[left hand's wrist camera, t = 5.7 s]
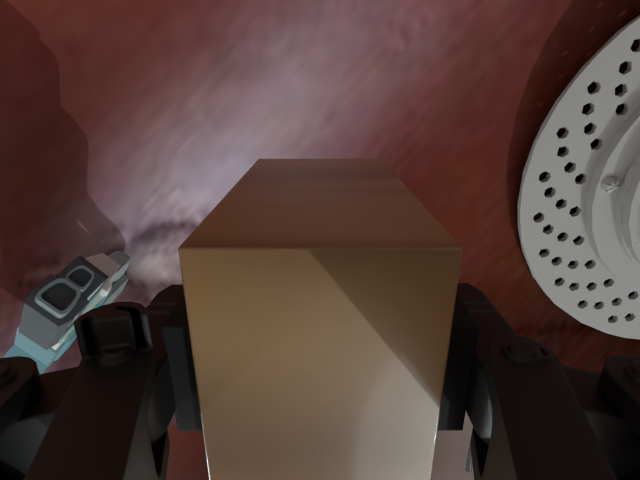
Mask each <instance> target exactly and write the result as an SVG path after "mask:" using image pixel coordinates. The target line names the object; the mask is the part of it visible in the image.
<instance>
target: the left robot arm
mask: <svg viewBox="0 0 640 480" xmlns="http://www.w3.org/2000/svg"><path fill="white" fill-rule="evenodd" d="M73 324H74V328H75V332H76V336H77V340H78V344H79V348H80V352H81V356H82V360H81V362H80V364H79V366H78V367H74V368H70V369H65V370H60V371H55V372H50V373H45V374H40V373H39V370H38V367H37V363H36V362H35V361H34V360H33V359H31V358H30V357H23V356H15V357H4V358H0V480H166V473H167V464H168V456H169V448H170V443H169V436H168V431H167V427H168V425H169V423H170V421H171V419H172V416H173V414H174V412H175V415H176V422H177V428H178V430H203V429H202V422H201V414H200V407H199V399H198V392H197V385H196V377H195V370H194V362H193V355H192V348H191V340H190V333H189V325H188V318H187V310H186V303H185V296H184V288H183V285H171V286H169V287H167V288H166V289H164V290H162V291H161V292H159V293H158V294H157V295H156V296H155V298H154V299H153V300H152V301H151V303H150V305H148V306H147V308H145V307H144V306H142V305H141V304H139V303H134V302H116V303H111V304H106V305H102V306H99V307H97V308H94V309H91V310H89V311H88V312H86V313H84V314H82V315H81V316H79V317H78V318H77V319H76V321H75V322H74V323H73ZM465 411H466V412H467V414H468V416H469V418H470V420H471V423H472V425H473V431H472V436H471V442H470V448H469V453H468V459H467V465H466V471H468V472H471V470H472V464H473V472H474V480H640V356H633V355H624V354H620V355H613V356H610V357H608V358H607V359H606V360H605V361H604V365H603V368H602V371H601V373H599V372H594V371H589V370H584V369H579V368H574V367H569V366H565V365H561V364H560V361H559V359H558V358H557V356H556V355H555V354H554V353H553V352H552V350H550V349H549V348H547V347H546V346H544V345H543V344H541V343H539V342H537V341H535V340H532V339H530V338H526V337H522V336H518V335H517V334H516V333H515V331H514V330H513V329H512V328H511V327H510V325H509V324H508V323H507V322H506V320H505V319H504V318H503V317H502V315H501V314H500V313H499V312H497V309H496V308H495V307H494V305H493V304H491V302H490V301H489V299H488V298H487V297H486V296H485V294H484V293H483V292H482V291H480V290H479V289H477V288H475V287H474V286H472V285H470V284H469V283H458V284H457V292H456V299H455V306H454V314H453V321H452V329H451V336H450V343H449V351H448V358H447V365H446V373H445V380H444V388H443V395H442V402H441V410H440V417H439V425H438V430H462V429H463V423H464V417H465Z"/></svg>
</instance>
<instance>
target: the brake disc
mask: <svg viewBox="0 0 640 480" xmlns="http://www.w3.org/2000/svg"><path fill="white" fill-rule="evenodd" d="M635 39H639V43H640V15H639V16H638V17H636V18H635V19H634V20H632V21H631V22H629V23H628V24H627V25H625V26H624V27H623V28H621V29H620V30H619V31H617V32H616V33H615V34H614V35H613V36H612V37H611V38H610V39H609V40H608V41H607V42H606V43H605V44H604V45H603V46H602V47H601V48H600V49H599V50H598V51H597V52H596V53H595V54H594V55H593V56H592V57H591V58H590V59H589V60H588V61H587V62H586V63H585V64H584V65H583V66H582V67H581V69H580V70H579V71H578V73H577V74H576V75H575V77H574V78H573V79H572V80H571V82H570V83H569V84H568V86H567V87H566V88H565V90H564V91H563V92H562V93H561V95H560V96H559V97H558V99H557V100H556V101H555V103H554V105H553V107H552V108H551V110H550V112H549V113H548V115H547V117H546V119H545V120H544V122H543V124H542V126H541V128H540V130H539V132H538V134H537V136H536V138H535V140H534V142H533V145H532V148H531V151H530V153H529V156H528V159H527V162H526V165H525V168H524V170H523V175H522V181H521V187H520V193H519V199H518V205H517V207H518V232H519V237H520V242H521V247H522V252H523V254H524V257H525V259H526V262H527V264H528V266H529V269H530V271H531V274H532V276H533V277H534V279H535V280H536V281H537V283H538V284H539V285H540V287H541V288H542V290H543V291H544V292H545V293H546V294H547V296H548V297H549V298H550V299H551V300H552V301H553V302H554V304H556V305H557V306H558V307H560V308H561V309H563V310H564V311H565V312H567V313H568V314H570V315H571V316H572V317H574V318H575V319H577V320H578V321H580V322H581V323H583V324H586V325H588V326H591V327H593V328H595V329H598V330H600V331H603V332H605V333H608V334H612V335H616V336H620V337H624V338H633V339H640V45H639V47H638V49H637V50H636V51H633V52H632V50H631V45H632V43H633V41H634V40H635ZM624 61H625V62H627V70H626V71H625V72H624V73H622V74H621V73H620V72H619V67H620V64H622V63H623V62H624ZM593 81H594V82H595V83H596V84H597V86H596V89H595V91H594V92H592V93H591V94H589V93H588V90H587V87H588V86H589V85H590V84H591V83H592V82H593ZM620 84H622V85H623V90H622V92H621V93H620V94H618V95H615V88H616V87H617V86H618V85H620ZM588 103H590V106H591V108H590V110H589V111H588V112H587V114H582V110H583V106H584V105H586V104H588ZM622 103H623V104H624V109H623V111H622V112H621V113H620V114H616V112H615V111H616V108H617V106H618V105H620V104H622ZM590 122H591V124H592V125H593V127H592V129H591V131H589V132H587V133H584V127H585V126H586V125H588V124H589V123H590ZM563 127H564V128H565V130H566V132H565V133H564V134H563V135H562V137H558V136H557V134H556V133H557V132H558V130H559V128H563ZM595 139H598V140H599V143H598V145H597V146H596V147H594V148H593V149H591V145H590V143H591V142H592V141H594V140H595ZM564 146H565V148H566V150H565V152H564V154H562V155H561V156H557V153H558V149H559V147H564ZM568 162H572V164H573V166H572V167H571V168H570V169H569V171H565V170H564V167H565V166H566V165H567V163H568ZM545 171H546V172H548V173H547V177H546V179H543V180H541V181H540V180H539V175H540V174H541V173H542V172H545ZM581 173H582V174H583V175H584V176H583V178H582V179H581V181H580V182H575V178H576V176H578V175H579V174H581ZM550 187H552V192H551V194H549V195H546V196H544V192H545V190H546V189H548V188H550ZM561 199H563V200H564V202H563V204H562V206H559V207H556V206H555V205H556V203H557V201H558V200H561ZM576 206H577V207H578V208H577V211H576V212H575V213H574V214H569V212H570V210H571V209H572V208H574V207H576ZM539 212H540V213H542V216H541V218H539V219H537V220H535V221H534V220H533V218H534V215H536V214H537V213H539ZM548 224H550V230H547V231H545V232H543V228H544V227H545V226H547V225H548ZM562 232H565V235H564V237H563V238H561V239H558V238H557V236H558V235H559V234H560V233H562ZM579 235H580V236H581V239H580V240H579V241H577V242H573V240H574V239H575V238H576V237H578V236H579ZM541 249H547V251H546V253H543V254H541V255H539V252H540V250H541ZM555 257H560V258H559V259H558V261H557V262H552V259H554V258H555ZM589 260H592V263H591V264H590V265H588V266H585V265H584V264H585V263H586V262H587V261H589ZM570 261H575V263H574V265H570V266H568V264H569V263H570ZM558 278H561V281H560V282H559V283H555V280H556V279H558ZM607 279H610V281H609V282H608V283H607V284H603V283H604V281H605V280H607ZM592 282H593V283H594V284H593V285H592V286H590V287H589V288H588V287H587V285H588V284H589V283H592ZM572 283H576V285H575V286H574V287H569V286H570V285H571V284H572ZM633 291H635V292H634V294H633V295H632V296H628V295H629V293H631V292H633ZM616 298H618V300H617V301H616V302H612V301H613V300H614V299H616ZM583 300H585V302H584V303H583V304H581V305H577V304H578V303H579V302H580V301H583ZM597 302H601V303H600V304H599V305H598V306H594V305H595V303H597ZM628 314H630V317H625V316H626V315H628ZM611 316H613V318H612V319H609V320H608V318H609V317H611Z"/></svg>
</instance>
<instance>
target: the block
mask: <svg viewBox="0 0 640 480" xmlns="http://www.w3.org/2000/svg"><path fill="white" fill-rule="evenodd" d="M178 251H179V259H180V266H181V273H182V281H183V288H184V296H185V303H186V310H187V318H188V325H189V333H190V340H191V348H192V355H193V362H194V370H195V377H196V385H197V392H198V399H199V407H200V414H201V422H202V429H203V436H204V443H205V451H206V459H207V466H208V473H209V480H431V476H432V469H433V461H434V454H435V447H436V439H437V432H438V425H439V417H440V410H441V402H442V395H443V388H444V380H445V373H446V365H447V358H448V351H449V343H450V336H451V329H452V321H453V314H454V306H455V299H456V292H457V284H458V277H459V269H460V262H461V255H462V247H461V246H460V245H459V244H458V243H457V242H456V241H455V240H454V239H453V237H452V236H451V235H450V234H449V233H448V232H447V231H446V230H445V229H444V227H443V226H442V225H441V224H440V223H439V222H438V221H437V220H436V219H435V218H434V216H433V215H432V214H431V213H430V212H429V211H428V210H427V209H426V208H425V207H424V205H423V204H422V203H421V202H420V201H419V200H418V199H417V198H416V197H415V195H414V194H413V193H412V192H411V191H410V190H409V189H408V188H407V187H406V186H405V184H404V183H403V182H402V181H401V180H400V179H399V178H398V177H397V176H396V174H395V173H394V172H393V171H392V170H391V169H390V168H389V167H388V166H387V165H386V163H385V162H384V161H383V160H382V159H258V160H257V162H256V163H255V164H254V165H253V166H252V167H251V168H250V169H249V170H248V171H247V173H246V174H245V175H244V176H243V177H242V178H241V179H240V180H239V181H238V183H237V184H236V185H235V186H234V187H233V188H232V189H231V190H230V191H229V193H228V194H227V195H226V196H225V197H224V198H223V199H222V200H221V201H220V202H219V204H218V205H217V206H216V207H215V208H214V209H213V210H212V211H211V212H210V214H209V215H208V216H207V217H206V218H205V219H204V220H203V221H202V222H201V224H200V225H199V226H198V227H197V228H196V229H195V230H194V231H193V232H192V233H191V235H190V236H189V237H188V238H187V239H186V240H185V241H184V242H183V243H182V245H181V246H180V247H179V249H178Z"/></svg>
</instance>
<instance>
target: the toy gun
mask: <svg viewBox="0 0 640 480" xmlns="http://www.w3.org/2000/svg"><path fill="white" fill-rule="evenodd" d="M129 264H130V257H129V256H128V255H127V254H125V253H124V252H123V251H115V252H113V253H111V254H110V255H108V256H107V255H105V254H104V253H100V254H97V255H93V256H89V257H87V258H83V257H82V256H79V257H77V258H76V259H75V260H73V261H72V262H71V263H70V264H69V265H68V266H67V267H65V268H64V269H63V270H62V271H61V272H60V273H59V274H58V275H56V276H54V275H52V274H50V275H49V276H48V277H47V278H46V279H45V280H44V281H42V282H41V283H40V284H39V285H38V286H37V287H35V288H34V289H33V290H32V291H31V292H30V294H29V296H28V298H27V299H26V301H25V303H24V307H23V312H22V317H21V322H20V326H19V327H18V328H17V333H16V338H15V344H14V345H13V346H12V347H11V349H10V350H9V351H8V352H7V353H6V354H5V355H4V357H15V356H23V357H30V358H31V359H33V360H34V361H35V362H36V363H37V367H38V370H39V373H40V374H41V373H42V372H43V371H44V370H45V369H46V368H47V367H48V366H49V365H50V364H51V363H52V362H53V361H55V360H57V359H58V358H59V357H60V356H61V355H62V354H63V353H64V352H65V351H66V350H67V349H68V348H69V346H70V345H71V344H72V342H73V341H74V340H75V339H76V337H77V336H76V332H75V328H74V324H73V323H74V322H75V321H76V319H77V318H78V317H79V316H81V315H82V314H84V313H86V312H88V311H89V310H91V309H94V308H97V307H99V306H102V305H106V304H111V302H112V301H113V300H114V299H115V298H116V297H117V296H118V295H119V294H120V293H121V292H122V291H123V288H124V286H125V284H126V282H127V281H128V279H129V277H128V276H126V275H125V274H124V273H125V271H126V269H127V268H128V266H129ZM4 357H3V358H4Z"/></svg>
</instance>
